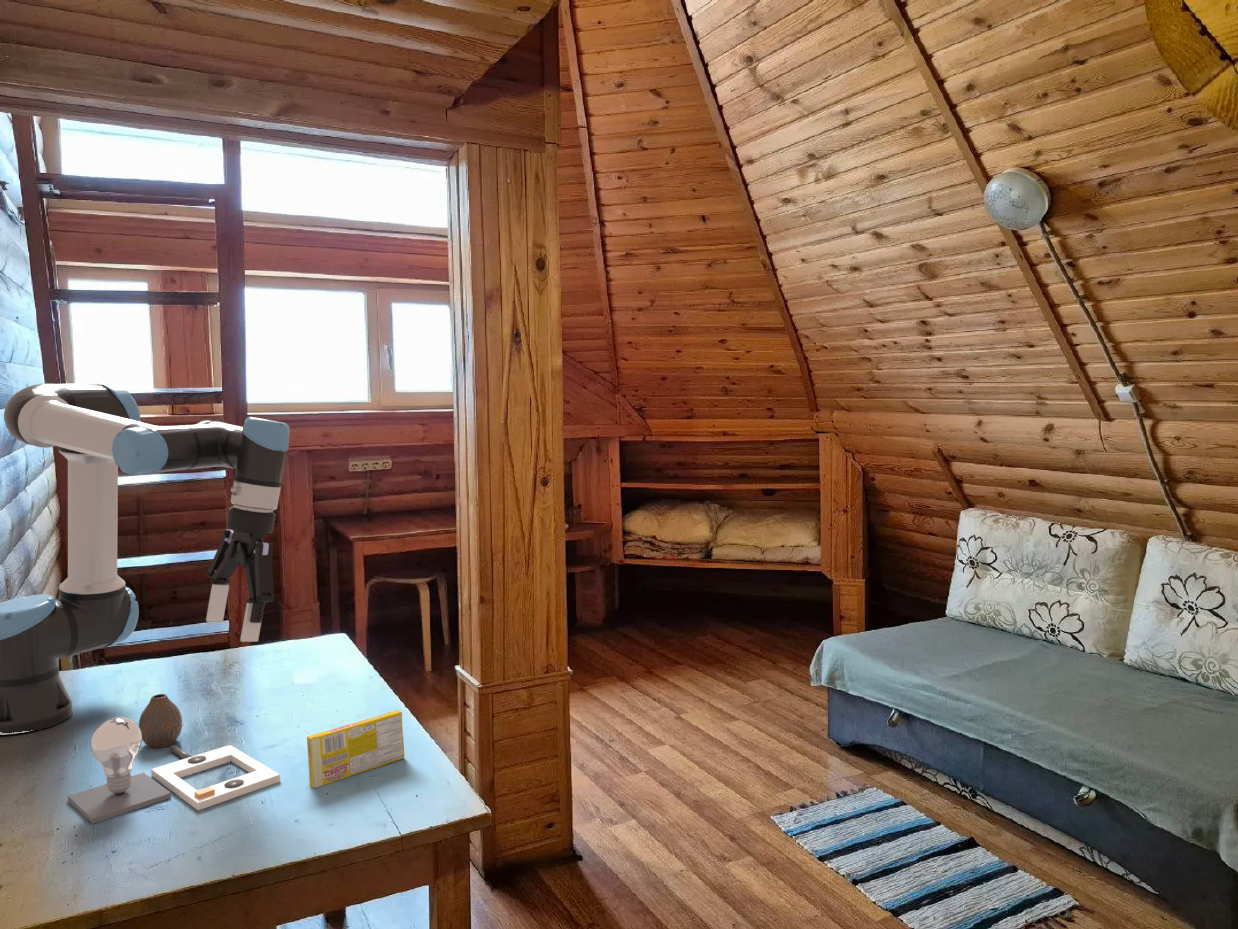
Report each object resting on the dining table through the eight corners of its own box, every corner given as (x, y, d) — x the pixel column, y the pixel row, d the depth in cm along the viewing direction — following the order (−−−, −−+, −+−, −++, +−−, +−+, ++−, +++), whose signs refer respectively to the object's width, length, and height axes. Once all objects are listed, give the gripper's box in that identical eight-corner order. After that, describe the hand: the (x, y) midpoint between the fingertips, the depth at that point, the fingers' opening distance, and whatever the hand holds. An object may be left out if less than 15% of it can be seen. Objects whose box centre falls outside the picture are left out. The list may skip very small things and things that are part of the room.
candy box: (399, 755, 153) (397, 709, 153) (405, 759, 152) (403, 712, 151) (308, 785, 142) (306, 735, 142) (313, 789, 141) (311, 738, 140)
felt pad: (68, 801, 137) (67, 796, 137) (143, 777, 145) (143, 772, 145) (92, 824, 130) (92, 818, 130) (171, 797, 138) (170, 792, 138)
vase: (165, 752, 155) (162, 704, 154) (130, 750, 157) (127, 701, 156) (191, 737, 162) (189, 690, 161) (158, 734, 163) (155, 688, 163)
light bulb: (91, 808, 133) (86, 730, 132) (95, 789, 139) (91, 715, 138) (144, 798, 136) (139, 722, 135) (146, 780, 142) (141, 707, 141)
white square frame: (133, 762, 151) (132, 752, 151) (210, 739, 161) (210, 729, 161) (198, 810, 134) (197, 798, 134) (280, 781, 143) (279, 770, 143)
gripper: (200, 495, 158) (179, 613, 157) (265, 518, 141) (242, 650, 141) (242, 499, 163) (221, 613, 163) (309, 522, 146) (286, 649, 146)
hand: (231, 631), depth 152 cm, fingers open, 13 cm apart
